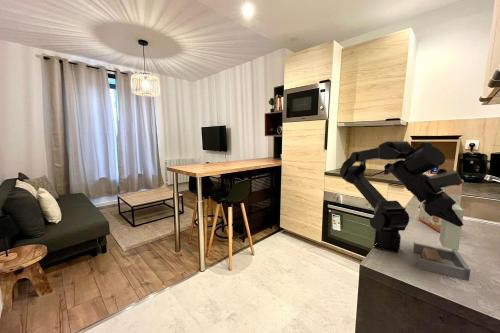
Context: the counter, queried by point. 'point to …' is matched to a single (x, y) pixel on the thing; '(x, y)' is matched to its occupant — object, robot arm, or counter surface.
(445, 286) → the counter surface
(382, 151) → the robot arm
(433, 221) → the cracker box
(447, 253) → the frame
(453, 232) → the sage board
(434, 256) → the walnut offcuts
